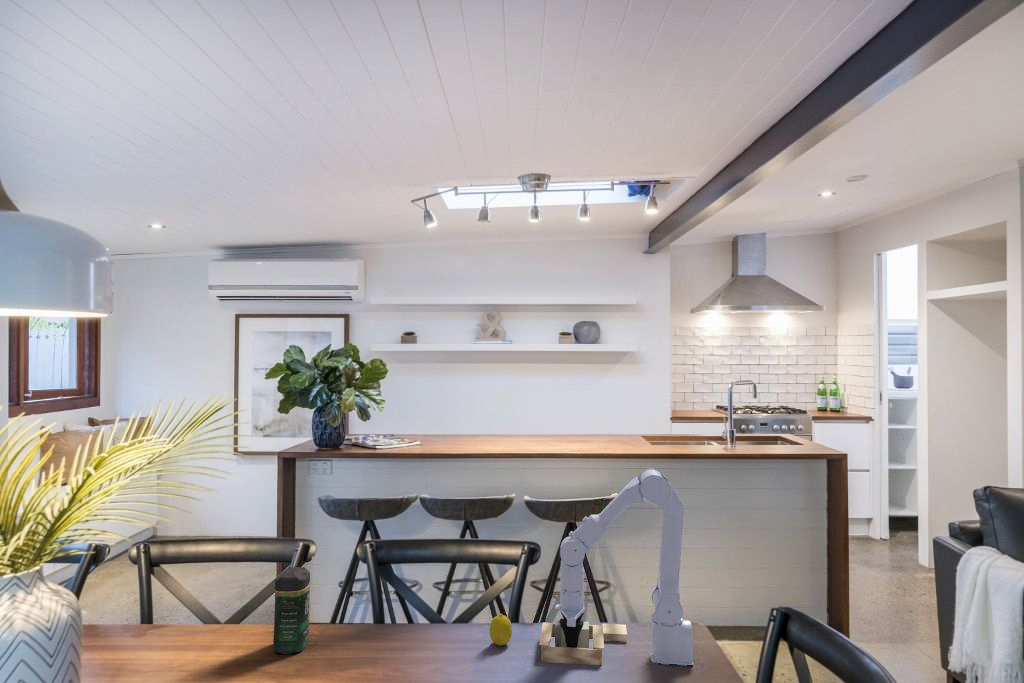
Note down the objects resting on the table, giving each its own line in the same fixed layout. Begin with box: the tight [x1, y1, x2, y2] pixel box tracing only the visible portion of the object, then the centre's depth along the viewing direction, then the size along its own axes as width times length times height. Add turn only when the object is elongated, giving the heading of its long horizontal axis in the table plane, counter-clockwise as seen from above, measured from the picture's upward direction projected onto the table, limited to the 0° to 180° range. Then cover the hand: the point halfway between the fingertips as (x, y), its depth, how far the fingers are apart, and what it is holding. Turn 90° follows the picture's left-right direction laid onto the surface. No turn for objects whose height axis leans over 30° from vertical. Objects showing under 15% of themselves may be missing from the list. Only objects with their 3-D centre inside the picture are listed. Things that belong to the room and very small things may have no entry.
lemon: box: [489, 613, 513, 647], centre depth 162 cm, size 6×6×8 cm
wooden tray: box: [538, 622, 605, 666], centre depth 158 cm, size 15×14×4 cm
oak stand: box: [601, 623, 628, 643], centre depth 166 cm, size 6×6×2 cm
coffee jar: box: [272, 566, 311, 655], centre depth 162 cm, size 10×8×19 cm
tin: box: [555, 619, 590, 648], centre depth 159 cm, size 8×4×6 cm, turn 83°
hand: (572, 644), depth 158 cm, fingers closed on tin, 4 cm apart
